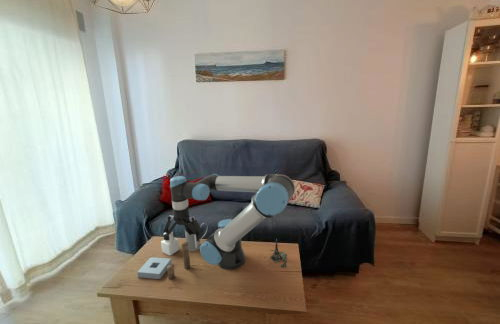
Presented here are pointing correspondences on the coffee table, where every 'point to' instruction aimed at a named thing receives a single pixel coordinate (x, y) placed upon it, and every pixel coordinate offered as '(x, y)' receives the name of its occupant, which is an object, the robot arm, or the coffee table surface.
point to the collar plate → (152, 272)
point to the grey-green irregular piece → (279, 256)
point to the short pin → (170, 271)
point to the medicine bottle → (166, 245)
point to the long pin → (186, 255)
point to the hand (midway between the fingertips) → (184, 245)
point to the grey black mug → (192, 238)
